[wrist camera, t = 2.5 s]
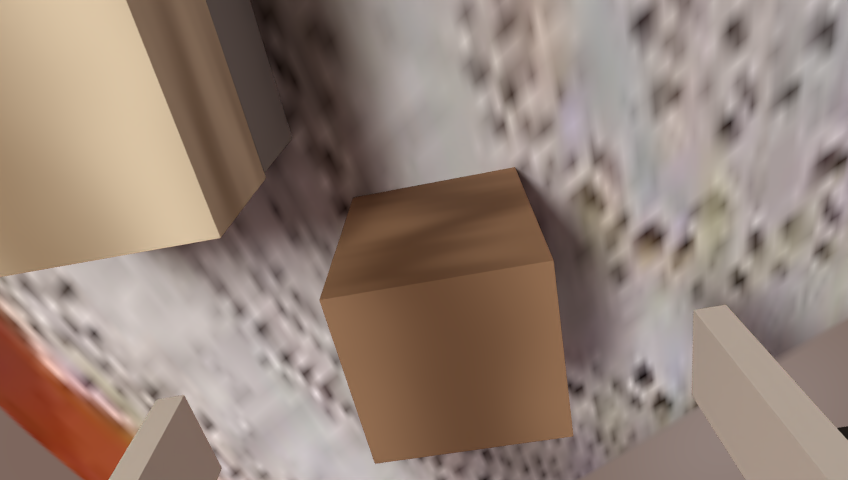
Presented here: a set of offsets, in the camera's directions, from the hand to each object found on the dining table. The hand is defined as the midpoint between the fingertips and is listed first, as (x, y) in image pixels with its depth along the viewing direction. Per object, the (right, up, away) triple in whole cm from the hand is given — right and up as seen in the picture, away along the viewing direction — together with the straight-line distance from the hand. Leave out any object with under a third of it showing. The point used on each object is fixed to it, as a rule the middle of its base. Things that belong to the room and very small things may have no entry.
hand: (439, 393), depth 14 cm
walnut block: (+1, +3, +7) cm, 8 cm away
